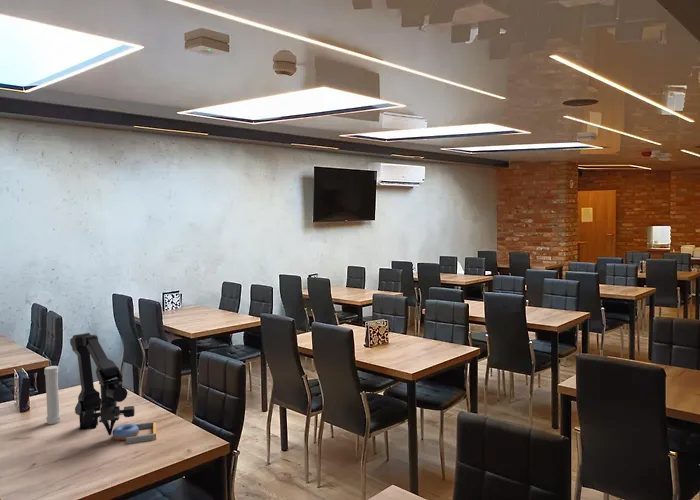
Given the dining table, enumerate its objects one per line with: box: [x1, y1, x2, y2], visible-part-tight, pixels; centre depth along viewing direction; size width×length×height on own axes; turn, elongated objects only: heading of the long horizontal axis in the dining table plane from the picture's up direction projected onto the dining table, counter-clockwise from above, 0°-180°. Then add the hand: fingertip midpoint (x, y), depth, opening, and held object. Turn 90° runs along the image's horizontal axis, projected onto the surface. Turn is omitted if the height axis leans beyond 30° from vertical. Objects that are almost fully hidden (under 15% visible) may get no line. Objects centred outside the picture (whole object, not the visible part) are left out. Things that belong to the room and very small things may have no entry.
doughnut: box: [111, 423, 140, 441], centre depth 220 cm, size 10×10×5 cm
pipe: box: [43, 355, 62, 425], centre depth 236 cm, size 6×6×30 cm
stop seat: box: [125, 421, 157, 444], centre depth 222 cm, size 11×15×2 cm
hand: (110, 434), depth 217 cm, fingers closed
